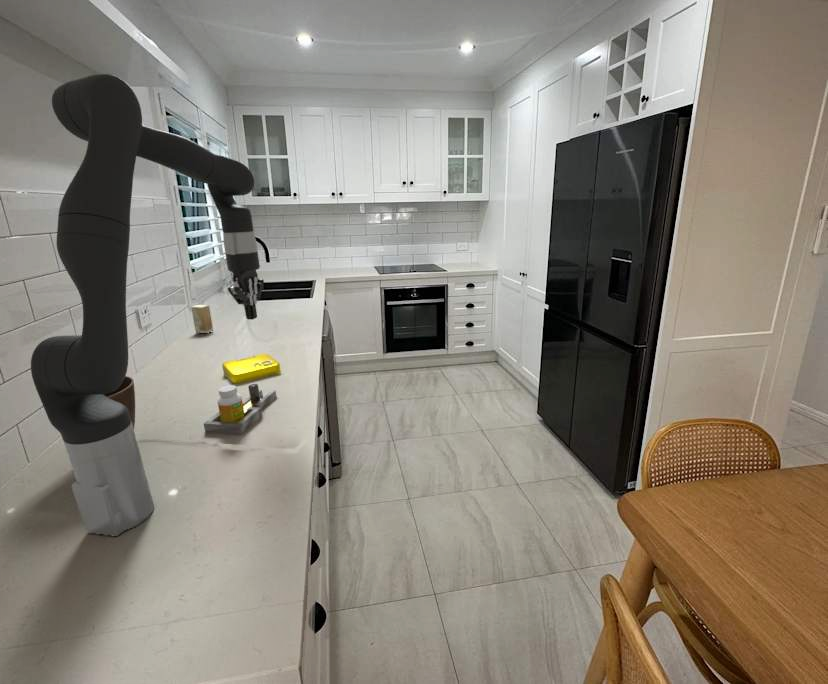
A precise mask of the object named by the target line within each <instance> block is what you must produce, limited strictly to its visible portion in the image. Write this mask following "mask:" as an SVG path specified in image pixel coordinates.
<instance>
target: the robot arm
mask: <svg viewBox="0 0 828 684" xmlns="http://www.w3.org/2000/svg"><path fill="white" fill-rule="evenodd" d="M51 106H52V109H53V113H54V114H55V116H56V118H57V120H58V121H59V123H60V124H61V125H62V126H63V127H64V129H66V130H67V131H68V132H69V133H70V134H72V135H74V136H75V137H77V138H78V139H81V140H83V141H85V142H87V147H86V151H85V155H84V158H83V160H82V162H81V164H80V165H79V168H78V170H77V172H76V173H75V175H74V176H73V178H72V180H71V181H70V182H69V185H68V187H67V189H66V190H65V192H64V194H63V197H62V199H61V202H60V206H59V209H58V210H59V211H58V217H57V227H56V228H57V229H56V230H57V231H56V250H57V254H58V256H59V258H60V261H61V263H62V265H63V266H64V269H65V271H66V272H67V274H68V276H69V277H70V279H71V281H72V282H73V284H74V286H75V287H76V289H77V291H78V293H79V296H80V300H81V305H82V329H81V331H82V332H81V335H76V334H75V335H74V334H73V335H55V336H51V337H48V338H44V340H42V341H40V342H39V343H38V345H36V347H35V349H34V350H33V352H32V355H31V359H30V374H31V377H32V378H31V379H32V381H33V383H34V386H35V390H36V392H37V394H38V397H39V399H40V402H41V404H42V406H43V408H44V411H45V414H46V416H47V418H48V420H49V423H50V424H51V426H53V428H54V429H55V430H57V431H58V432H59V433H60V435H61V438H62V441H63V444H64V447H65V450H66V453H67V456H68V458H69V462H70V465H71V469H72V472H73V474H74V477H75V478H74V479H75V482H73V483H72V485H71V489H72V490H71V491H72V492H73V495H74V498H75V502H76V504H77V509H78V510H79V513H80V516H81V519H82V522H83V525H84V529H85V531H86V533H87V532H88V533H87V534H92V533H98V534H97V535H99V534H106V535H105V536H107V535H113V536H112V537H114V536H117V535H119V534H120V533H121V532H122V533H123V531H124V532H125V530H126V531H128V530H130V528H131V529H133V528H134V526H135V527H137V526H138V525H140V524H141V523H143V522H144V521H145V520H147V519H148V518H149V517H150V516H151V515H152V513H153V511H154V509H155V504H154V501H153V496H152V492H151V489H150V484H149V481H148V477H147V473H146V470H145V467H144V466H145V465H144V462H143V459H142V456H141V455H142V454H141V451H140V448H139V444H138V440H137V437H136V433H135V428H134V429H133V425H132V421H131V418H130V414H129V411H128V409H127V407H126V406H125V405H123V404H121V403H119V402H116V401H114V400H112V399H110V398H108V397H106V396H105V395H103V394H108V393H111V392H113V391H115V390H117V389H118V388H119V387H120V386H121V384H122V382H123V381H124V379H125V376H127V372H128V367H129V338H128V337H129V336H128V323H127V320H128V319H127V276H128V275H127V274H128V273H127V272H128V271H127V270H128V259H129V257H128V256H129V250H130V249H129V248H130V236H131V235H130V231H131V206H132V195H133V183H134V175H135V174H134V173H135V167H136V166H135V165H136V159H137V157H138V158H142V159H145V160H147V161H151V162H152V163H155V164H158V165H161V166H163V167H165V168H168V169H170V170H173V171H175V172H178V173H180V174H182V175H184V176H185V177H188V178H190V179H191V180H192V179H193V180H194V181H196V182H198V183H202V184H207V185H206V186H207V188H208V192H209V193H210V195H211V198H212V200H213V202H214V205H215V207H216V209H217V211H218V213H219V216H220V223H221V228H222V233H223V234H222V235H223V236H222V237H223V241H222V242H223V248H224V252H225V253H224V254H225V260H226V266H227V270H228V271H229V272H231V273H232V282H233V283H232V285H231V286H228V287H227V291H228V292H229V294H230V295H231V296H232V298H233V300H234V301H235V302H236V303H237V305H242V306H244V313H245V317H246V319H247V320H255V319H257V318H258V311H257V307H256V305H257V302H258V301H260V300H261V296H262V292H263V287H264V284H265V283H264V282H265V280H264V279H263V278H262V279H260V278H259V277H258V276H259V275H258V273H257V270H259V269H260V267H261V265H260V259H259V251H258V245H257V239H256V235H255V231H254V225H253V217H252V213H251V210H250V209H249V208H248V207H246V206H242V205H239V204H237V202H236V200H235V199H234V197H235V196H246V195H248V194H250V193H251V192H252V191H253V190H254V187H255V177H254V175H253V173H252V171H251V170H250V169H249V167H248V166H247V165H245V164H244V163H242V162H240V161H238V160H236V159H233V158H230V157H227V156H224V155H221V154H218V153H214V152H211V151H210V150H209V149H207V148H205V147H204V146H202V145H200V144H199V143H197V142H195V141H193V140H191V139H189V138H187V137H184V136H182V135H178V134H175V133H172V132H168V131H163V130H160V129H156V128H153V127H150V126H146V125H144V124H143V115H142V108H141V104H140V102H139V99H138V96H137V95H136V93H135V91H134V90H133V88H132V87H131V85H129V83H128V82H126V81H125V80H124V79H122V78H120V77H119V76H118V75H113V74H110V73H99V74H91V75H87V76H85V77H81V78H78V79H74V80H70V81H67V82H65V83H63V84H61V85H59V86H58V87H57V88H56V89H55V90H54V91H53V94H52V96H51ZM127 529H128V530H127ZM122 533H121V534H122ZM121 534H120V535H121ZM120 535H119V536H120ZM117 537H118V536H117Z"/></svg>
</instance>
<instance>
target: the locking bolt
mask: <svg viewBox="0 0 828 684" xmlns="http://www.w3.org/2000/svg"><path fill="white" fill-rule="evenodd" d="M247 387H248V392H249V397H250V400H251V401H250V402H248V403H247V404H246V405H244V406H243V408H244V414H245V417H246V416H247V415H248V412H247V409H248V408H249V407H255V404H256V403H258V402H259V401H260V400H261V399H262V398H260V395H259V390H260V389H259V384H258V383H251V384H249V385H248V386H247Z"/></svg>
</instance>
